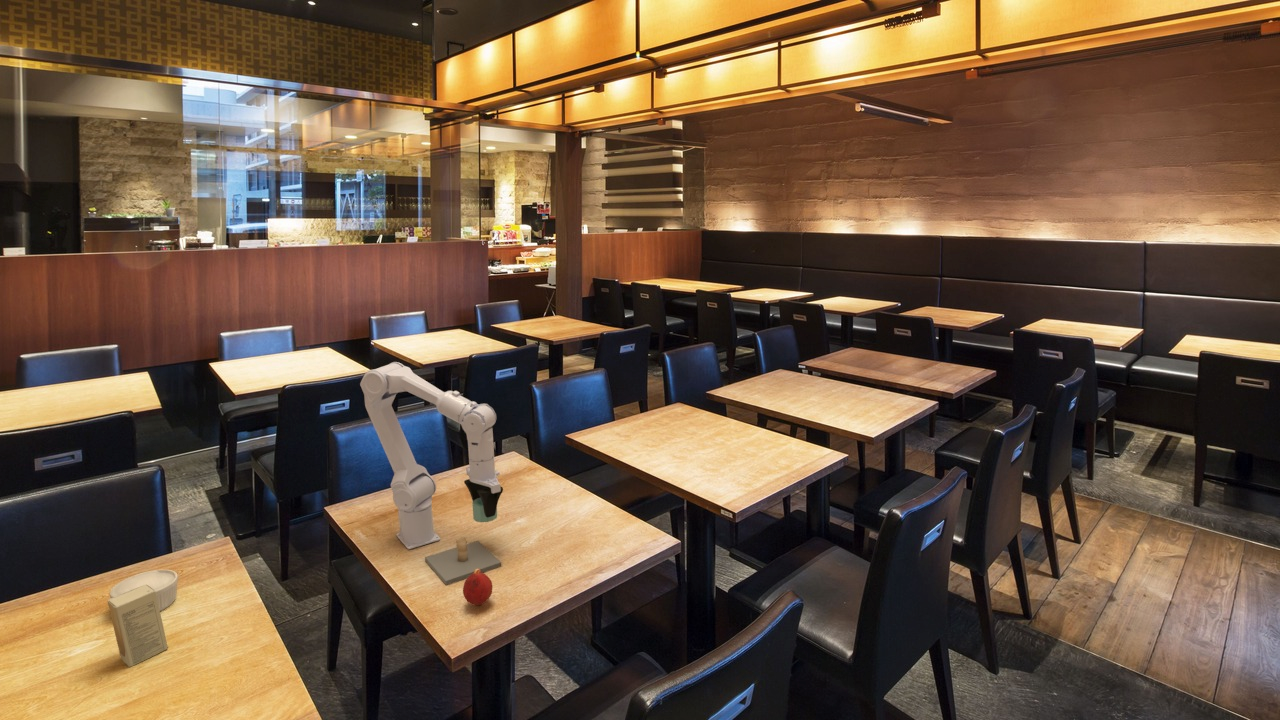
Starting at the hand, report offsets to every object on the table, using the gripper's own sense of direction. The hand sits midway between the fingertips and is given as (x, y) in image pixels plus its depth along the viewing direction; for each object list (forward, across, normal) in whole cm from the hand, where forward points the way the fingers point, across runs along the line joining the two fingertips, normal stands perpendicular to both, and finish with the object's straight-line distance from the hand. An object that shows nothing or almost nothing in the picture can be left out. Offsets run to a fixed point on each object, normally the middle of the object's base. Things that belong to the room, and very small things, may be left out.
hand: (484, 511), depth 156 cm
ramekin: (+10, +21, +65) cm, 69 cm away
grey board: (+9, -3, +8) cm, 12 cm away
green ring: (+1, 0, 0) cm, 1 cm away
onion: (+10, -21, +12) cm, 26 cm away
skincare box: (+10, +2, +66) cm, 67 cm away
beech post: (+9, -3, +8) cm, 12 cm away
